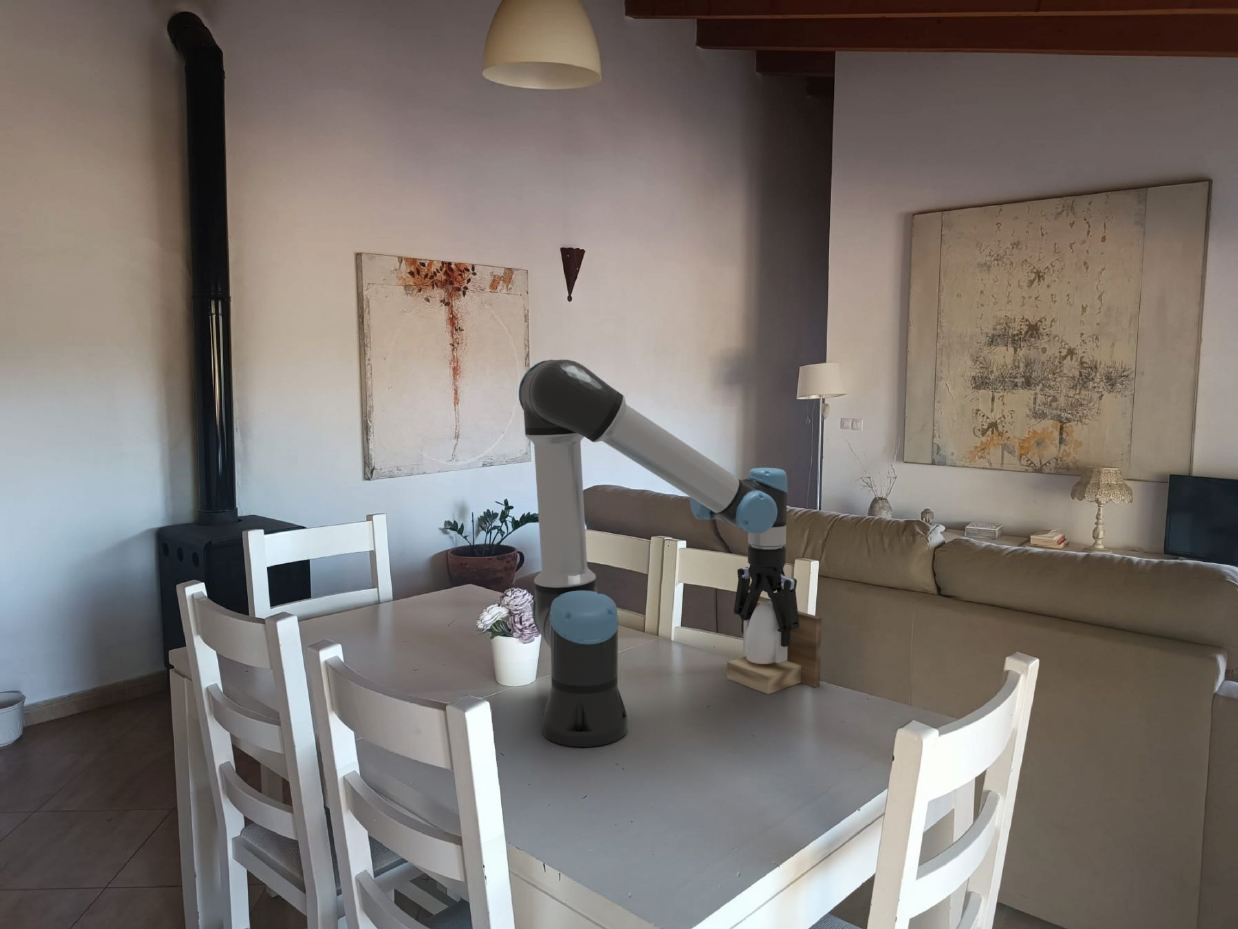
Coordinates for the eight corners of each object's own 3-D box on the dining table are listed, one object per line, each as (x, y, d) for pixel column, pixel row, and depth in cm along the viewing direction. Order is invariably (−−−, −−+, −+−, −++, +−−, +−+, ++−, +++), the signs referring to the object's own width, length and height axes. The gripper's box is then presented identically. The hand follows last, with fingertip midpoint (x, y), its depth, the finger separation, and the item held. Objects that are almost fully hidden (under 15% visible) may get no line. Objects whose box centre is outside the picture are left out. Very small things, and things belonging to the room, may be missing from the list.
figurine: (785, 665, 171) (786, 606, 170) (747, 664, 171) (748, 606, 170) (779, 653, 178) (780, 597, 177) (742, 653, 178) (743, 596, 177)
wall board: (782, 699, 165) (783, 628, 163) (714, 674, 179) (715, 608, 177) (819, 685, 172) (821, 617, 170) (752, 662, 186) (753, 598, 184)
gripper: (820, 551, 166) (817, 665, 169) (741, 535, 182) (739, 639, 185) (795, 556, 162) (793, 673, 164) (716, 539, 178) (715, 646, 180)
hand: (764, 655), depth 174 cm, fingers closed on figurine, 8 cm apart
